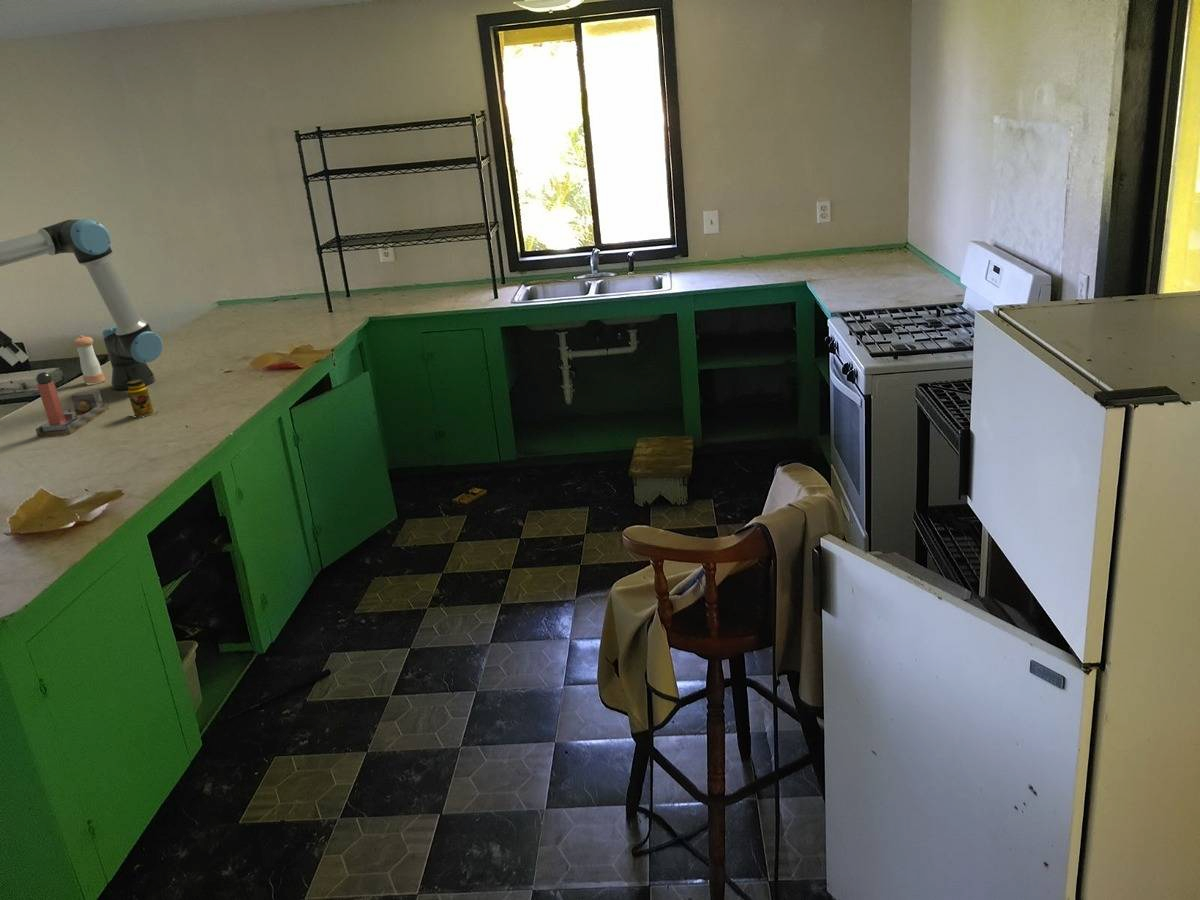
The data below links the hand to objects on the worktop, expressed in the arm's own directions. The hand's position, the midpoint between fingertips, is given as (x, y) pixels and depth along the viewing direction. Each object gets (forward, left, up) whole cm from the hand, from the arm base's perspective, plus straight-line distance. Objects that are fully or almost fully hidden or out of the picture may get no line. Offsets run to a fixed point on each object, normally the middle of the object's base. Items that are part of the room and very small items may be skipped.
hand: (20, 361), depth 311 cm
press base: (-7, +8, -23) cm, 25 cm away
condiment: (-22, +25, -23) cm, 41 cm away
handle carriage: (-1, +12, -22) cm, 25 cm away
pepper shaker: (-40, -38, -23) cm, 60 cm away
